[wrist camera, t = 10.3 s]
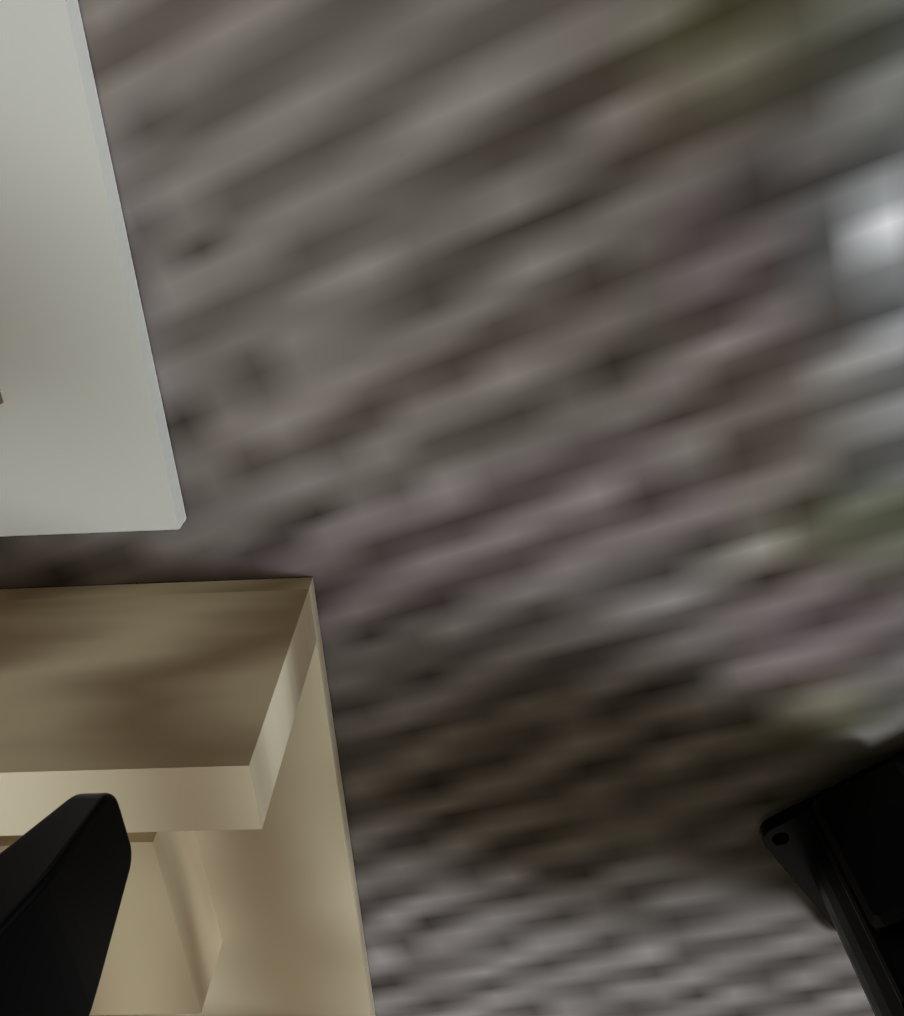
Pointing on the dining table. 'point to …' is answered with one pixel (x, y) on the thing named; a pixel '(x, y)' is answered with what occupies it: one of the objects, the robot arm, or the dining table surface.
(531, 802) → the dining table surface
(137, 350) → the grey mat
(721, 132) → the dining table surface
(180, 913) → the slot box
